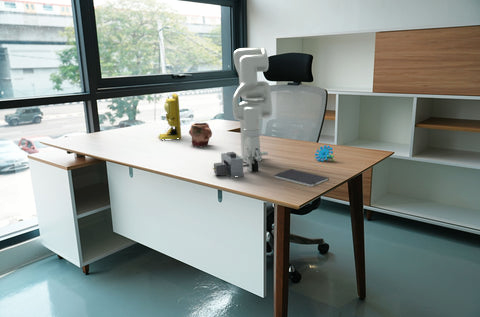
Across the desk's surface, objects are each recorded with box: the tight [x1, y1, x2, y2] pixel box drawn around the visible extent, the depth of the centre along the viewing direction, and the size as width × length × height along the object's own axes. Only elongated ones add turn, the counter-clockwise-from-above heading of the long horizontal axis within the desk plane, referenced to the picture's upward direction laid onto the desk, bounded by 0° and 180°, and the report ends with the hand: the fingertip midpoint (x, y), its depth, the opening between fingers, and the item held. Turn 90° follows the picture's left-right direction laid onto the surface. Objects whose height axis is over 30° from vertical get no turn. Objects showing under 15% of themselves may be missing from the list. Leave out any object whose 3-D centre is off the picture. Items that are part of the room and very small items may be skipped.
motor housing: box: [220, 151, 244, 178], centre depth 185 cm, size 6×14×10 cm, turn 21°
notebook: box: [273, 168, 330, 187], centre depth 175 cm, size 13×2×21 cm
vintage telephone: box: [158, 93, 182, 140], centre depth 273 cm, size 31×14×30 cm, turn 17°
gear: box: [314, 144, 335, 162], centre depth 204 cm, size 11×6×10 cm
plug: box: [212, 158, 260, 176], centre depth 186 cm, size 22×4×6 cm, turn 111°
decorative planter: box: [188, 122, 213, 147], centre depth 246 cm, size 20×12×14 cm, turn 49°
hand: (253, 169), depth 190 cm, fingers closed on plug, 4 cm apart
